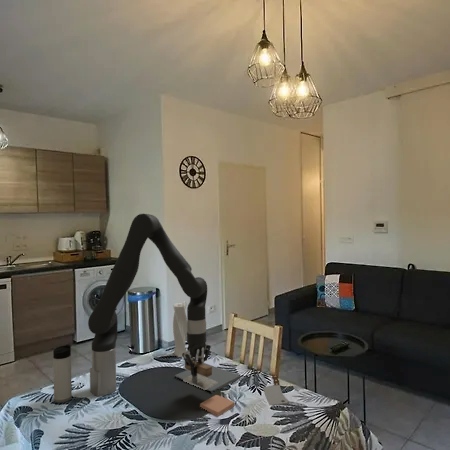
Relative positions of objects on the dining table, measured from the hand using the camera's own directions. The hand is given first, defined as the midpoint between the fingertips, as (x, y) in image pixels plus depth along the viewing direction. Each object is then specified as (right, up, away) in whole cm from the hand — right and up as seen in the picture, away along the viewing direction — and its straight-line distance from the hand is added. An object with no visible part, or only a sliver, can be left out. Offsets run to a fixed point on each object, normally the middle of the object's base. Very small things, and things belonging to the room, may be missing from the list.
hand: (197, 374), depth 140 cm
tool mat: (+3, -9, +17) cm, 20 cm away
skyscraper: (-12, -9, +45) cm, 47 cm away
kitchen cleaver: (+30, -9, +6) cm, 32 cm away
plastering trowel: (+1, -3, -1) cm, 3 cm away
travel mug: (-52, -10, 0) cm, 53 cm away
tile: (+5, -8, -4) cm, 10 cm away
